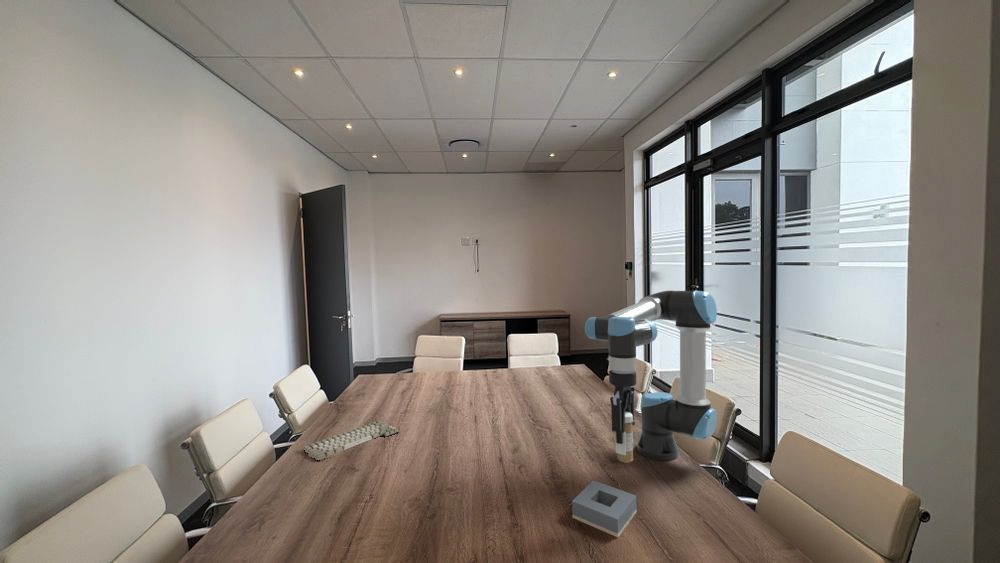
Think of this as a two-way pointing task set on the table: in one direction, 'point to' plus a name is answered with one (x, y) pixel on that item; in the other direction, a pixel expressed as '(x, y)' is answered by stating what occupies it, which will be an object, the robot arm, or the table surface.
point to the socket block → (604, 508)
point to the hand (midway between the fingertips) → (624, 450)
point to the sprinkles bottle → (628, 439)
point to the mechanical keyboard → (350, 439)
